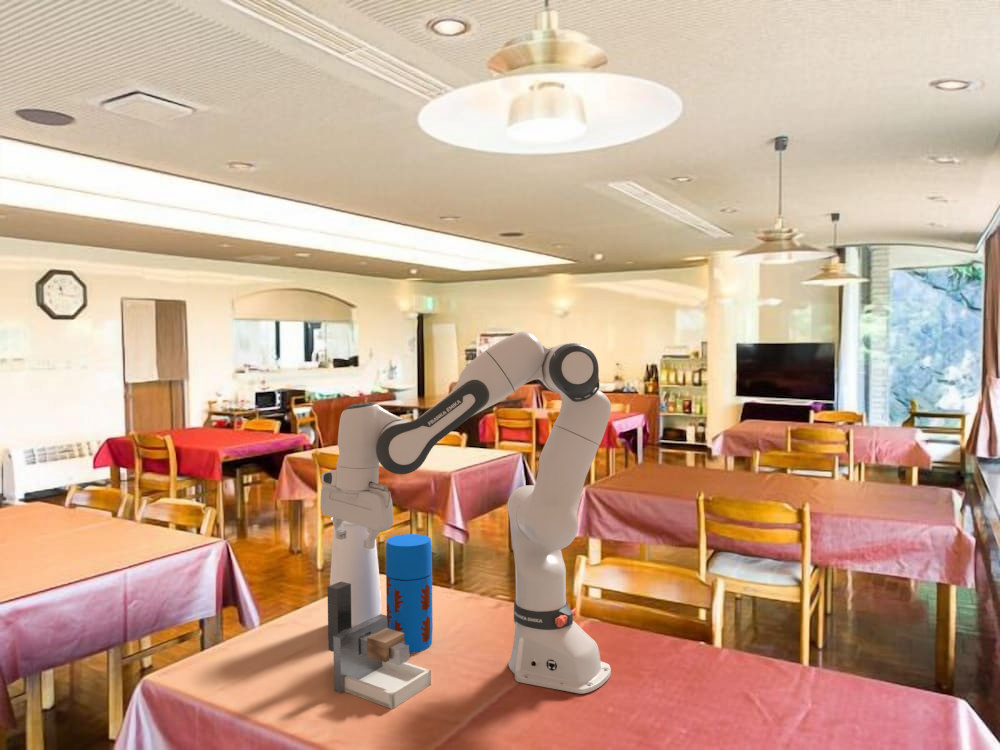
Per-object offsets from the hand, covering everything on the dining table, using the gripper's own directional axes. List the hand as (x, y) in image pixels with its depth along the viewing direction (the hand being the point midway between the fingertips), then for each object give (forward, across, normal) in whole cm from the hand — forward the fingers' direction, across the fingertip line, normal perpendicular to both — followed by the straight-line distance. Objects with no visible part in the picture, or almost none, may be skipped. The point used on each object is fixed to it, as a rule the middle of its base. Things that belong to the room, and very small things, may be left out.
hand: (354, 543), depth 150 cm
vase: (+29, +21, -18) cm, 40 cm away
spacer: (+22, -9, -2) cm, 24 cm away
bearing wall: (+29, -2, -2) cm, 29 cm away
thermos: (+28, +3, -20) cm, 35 cm away
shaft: (+24, -4, -2) cm, 24 cm away
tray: (+29, -10, -3) cm, 30 cm away
